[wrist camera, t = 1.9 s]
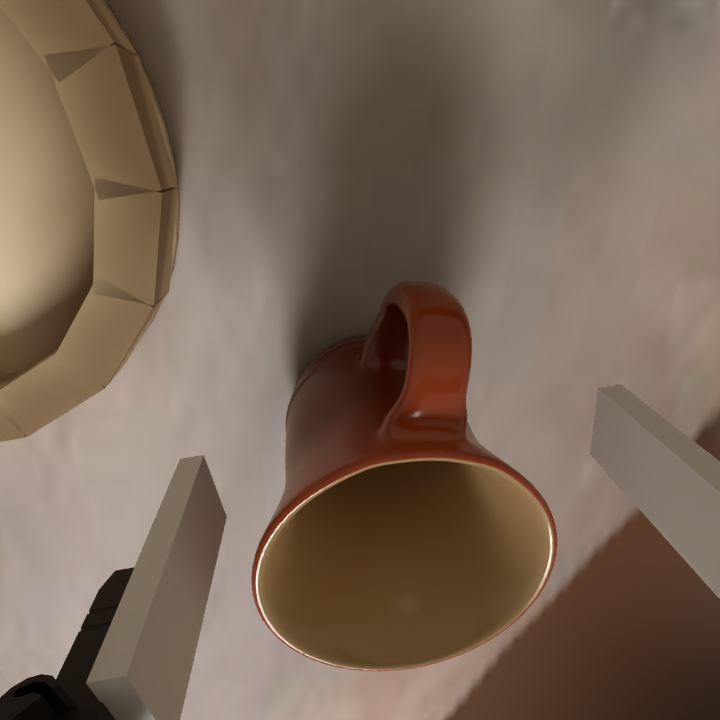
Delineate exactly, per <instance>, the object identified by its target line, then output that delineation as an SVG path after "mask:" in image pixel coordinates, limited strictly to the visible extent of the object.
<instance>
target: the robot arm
mask: <svg viewBox="0 0 720 720" xmlns="http://www.w3.org/2000/svg"><path fill="white" fill-rule="evenodd" d="M590 454H591V455H592V457H593V458H594V459H595V460H596V461H597V462H598V463H599V464H600V465H601V467H602V468H603V469H604V470H605V471H606V472H607V473H608V474H609V476H610V477H611V478H612V479H613V480H614V481H615V482H616V483H617V485H618V486H619V487H620V488H621V489H622V490H623V491H624V492H625V493H626V495H627V496H628V497H629V498H630V499H631V500H632V501H633V502H634V504H635V505H636V506H637V507H638V508H639V509H640V510H641V511H642V513H643V514H644V515H645V516H646V517H647V518H648V519H649V520H650V521H651V523H652V524H653V525H654V526H655V527H656V528H657V529H658V530H659V532H660V533H661V534H662V535H663V536H664V537H665V538H666V539H667V540H668V541H669V543H670V544H671V545H672V546H673V547H674V548H675V549H676V551H677V552H678V553H679V554H680V555H681V556H682V557H683V558H684V559H685V561H686V562H687V563H688V564H689V565H690V566H691V567H692V569H693V570H694V571H695V572H696V573H697V574H698V575H699V576H700V577H701V578H702V580H703V581H704V582H705V583H706V584H707V585H708V586H709V588H710V589H711V590H712V591H713V592H714V593H715V594H716V595H717V596H718V598H719V599H720V462H719V461H718V460H717V459H715V458H714V457H713V456H712V455H710V454H709V453H708V452H706V451H705V450H704V449H702V448H701V447H700V446H699V445H697V444H696V443H695V442H694V441H693V440H691V439H690V438H689V437H687V436H686V435H685V434H684V433H682V432H681V431H680V430H678V429H677V428H676V427H675V426H673V425H672V424H671V423H670V422H668V421H667V420H666V419H664V418H663V417H662V416H661V415H659V414H658V413H657V412H655V411H654V410H653V409H652V408H650V407H649V406H648V405H647V404H645V403H644V402H643V401H641V400H640V399H639V398H638V397H636V396H635V395H634V394H632V393H631V392H630V391H629V390H627V389H626V388H625V387H624V386H622V385H621V384H620V385H614V386H608V387H602V388H598V394H597V402H596V410H595V419H594V427H593V435H592V443H591V451H590ZM226 518H227V517H226V514H225V511H224V509H223V506H222V503H221V500H220V498H219V495H218V492H217V490H216V487H215V484H214V482H213V479H212V476H211V474H210V471H209V468H208V466H207V463H206V460H205V457H204V455H202V456H196V457H190V458H184V459H180V460H179V463H178V465H177V468H176V470H175V472H174V475H173V477H172V480H171V482H170V484H169V487H168V489H167V491H166V494H165V496H164V499H163V501H162V503H161V506H160V508H159V510H158V513H157V515H156V518H155V520H154V522H153V525H152V527H151V530H150V532H149V534H148V537H147V539H146V541H145V544H144V546H143V549H142V551H141V553H140V556H139V558H138V560H137V563H136V565H135V567H134V568H128V569H122V570H117V571H115V572H114V573H113V574H112V575H111V576H110V578H109V579H108V580H107V581H106V582H105V583H104V585H103V586H102V587H101V588H100V589H99V591H98V593H97V595H96V597H95V599H94V601H93V604H92V606H91V608H90V610H89V611H90V613H89V614H87V616H86V618H85V620H84V622H83V624H82V627H81V631H80V632H79V633H78V635H77V637H76V639H75V641H74V643H73V645H72V647H71V650H70V652H69V654H68V656H67V658H66V660H65V662H64V664H63V666H62V668H61V670H60V673H59V675H58V677H57V679H55V678H54V677H53V676H50V675H43V674H41V675H37V676H34V677H30V678H27V679H25V680H24V681H22V682H20V683H19V684H17V685H15V686H13V687H12V688H11V689H10V690H8V691H7V692H6V693H5V694H4V695H3V696H2V697H1V698H0V720H180V717H181V713H182V709H183V704H184V700H185V696H186V691H187V687H188V683H189V678H190V674H191V670H192V665H193V661H194V656H195V652H196V648H197V643H198V639H199V635H200V630H201V626H202V622H203V617H204V613H205V609H206V604H207V600H208V596H209V591H210V587H211V583H212V578H213V574H214V570H215V565H216V561H217V557H218V552H219V548H220V544H221V539H222V535H223V531H224V526H225V522H226Z"/></svg>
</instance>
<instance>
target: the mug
mask: <svg viewBox="0 0 720 720" xmlns="http://www.w3.org/2000/svg"><path fill="white" fill-rule="evenodd" d="M471 358H472V338H471V329H470V325H469V321H468V318H467V316H466V313H465V311H464V309H463V307H462V305H461V304H460V302H459V301H458V300H457V299H456V298H455V297H454V296H453V295H452V294H451V293H450V292H449V291H448V290H446V289H445V288H443V287H441V286H438V285H436V284H432V283H426V282H415V281H407V282H401V283H398V284H396V285H394V286H393V287H392V288H391V289H390V290H389V291H388V293H387V294H386V296H385V298H384V300H383V302H382V305H381V308H380V311H379V313H378V316H377V319H376V321H375V323H374V325H373V327H372V329H371V331H370V333H369V335H368V336H359V337H351V338H347V339H344V340H342V341H340V342H338V343H336V344H334V345H332V346H330V347H329V348H327V349H325V350H324V351H323V352H321V353H320V354H319V355H317V356H316V357H315V358H314V359H313V360H312V361H311V362H310V363H309V364H308V366H307V367H306V368H305V370H304V371H303V373H302V374H301V376H300V378H299V380H298V382H297V384H296V386H295V388H294V391H293V394H292V397H291V400H290V403H289V405H288V409H287V414H286V448H285V468H286V483H285V490H284V493H283V496H282V498H281V501H280V503H279V505H278V507H277V509H276V511H275V513H274V515H273V517H272V519H271V521H270V523H269V524H268V526H267V528H266V530H265V532H264V534H263V536H262V538H261V540H260V543H259V545H258V548H257V551H256V554H255V558H254V562H253V567H252V591H253V596H254V601H255V604H256V607H257V610H258V612H259V614H260V616H261V617H262V619H263V621H264V622H265V624H266V625H267V627H268V628H269V629H270V630H271V631H272V632H273V633H274V635H275V636H276V637H277V638H279V639H280V640H281V641H282V642H283V643H284V644H286V645H287V646H289V647H290V648H291V649H293V650H294V651H296V652H298V653H300V654H302V655H304V656H306V657H308V658H310V659H313V660H315V661H318V662H321V663H324V664H327V665H331V666H335V667H339V668H345V669H351V670H360V671H393V670H403V669H411V668H416V667H422V666H426V665H430V664H434V663H438V662H441V661H444V660H447V659H451V658H453V657H456V656H458V655H461V654H463V653H466V652H468V651H470V650H472V649H474V648H476V647H478V646H480V645H482V644H484V643H486V642H487V641H489V640H491V639H492V638H494V637H496V636H497V635H498V634H500V633H501V632H503V631H504V630H506V629H507V628H508V627H509V626H511V625H512V624H513V623H514V622H515V621H517V620H518V619H519V618H520V617H521V616H522V615H523V614H524V613H525V612H526V611H527V610H528V609H529V607H530V606H531V605H532V604H533V603H534V601H535V600H536V599H537V597H538V596H539V595H540V593H541V591H542V590H543V588H544V587H545V585H546V583H547V581H548V579H549V577H550V574H551V571H552V568H553V566H554V561H555V557H556V550H557V533H556V527H555V522H554V519H553V516H552V514H551V511H550V509H549V507H548V505H547V503H546V501H545V500H544V499H543V497H542V496H541V494H540V493H539V492H538V491H537V489H536V488H535V487H534V486H533V485H532V484H531V483H530V482H529V481H528V480H527V479H526V478H525V477H523V476H522V475H521V474H520V473H519V472H518V471H516V470H515V469H514V468H512V467H511V466H509V465H508V464H507V463H505V462H504V461H502V460H501V459H499V458H498V457H497V456H495V455H494V454H492V453H491V452H490V451H488V450H487V449H486V448H484V447H483V446H482V445H481V444H480V443H479V442H478V441H477V440H476V438H475V436H474V434H473V432H472V430H471V428H470V426H469V424H468V422H467V409H466V393H467V387H468V381H469V375H470V368H471Z"/></svg>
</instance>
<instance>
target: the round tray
mask: <svg viewBox="0 0 720 720" xmlns="http://www.w3.org/2000/svg"><path fill="white" fill-rule="evenodd" d="M137 55H138V54H137V53H136V51H135V49H134V47H133V45H132V43H131V41H130V39H129V38H128V36H127V34H126V33H125V31H124V29H123V28H122V26H121V25H120V23H119V21H118V20H117V18H116V16H115V15H114V13H113V11H112V10H111V8H110V7H109V5H108V3H107V2H106V0H0V442H1V441H7V440H13V439H19V438H24V437H26V436H27V437H28V436H29V435H31V434H32V433H34V432H36V431H37V430H39V429H40V428H42V427H44V426H45V425H47V424H48V423H50V422H52V421H53V420H55V419H56V418H58V417H60V416H61V415H63V414H64V413H66V412H68V411H69V410H71V409H72V408H74V407H76V406H77V405H79V404H80V403H82V402H84V401H85V400H87V399H88V398H90V397H92V396H93V395H95V394H96V393H98V392H100V391H101V390H103V389H104V388H105V387H106V386H107V385H108V384H109V383H110V381H111V380H112V379H113V378H114V377H115V375H116V374H117V373H118V372H119V371H120V369H121V368H122V367H123V366H124V365H125V363H126V361H127V360H128V358H129V356H130V355H131V353H132V351H133V350H134V348H135V346H136V345H137V343H138V341H139V340H140V338H141V337H142V335H143V334H144V333H145V331H146V330H147V328H148V327H149V326H150V324H151V323H152V321H153V319H154V317H155V315H156V313H157V311H158V309H159V307H160V305H161V303H162V302H163V300H164V298H165V297H166V295H167V293H168V292H169V291H168V290H169V287H170V279H171V276H172V272H173V269H174V264H175V258H176V252H177V245H178V239H179V205H180V202H179V193H178V184H177V175H176V166H175V162H174V157H173V153H172V149H171V144H170V140H169V136H168V132H167V127H166V124H165V121H164V119H163V116H162V113H161V110H160V107H159V105H158V102H157V99H156V96H155V93H154V90H153V88H152V85H151V83H150V81H149V78H148V76H147V74H146V72H145V70H144V68H143V66H142V64H141V61H140V58H139V57H138V56H137Z"/></svg>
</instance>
